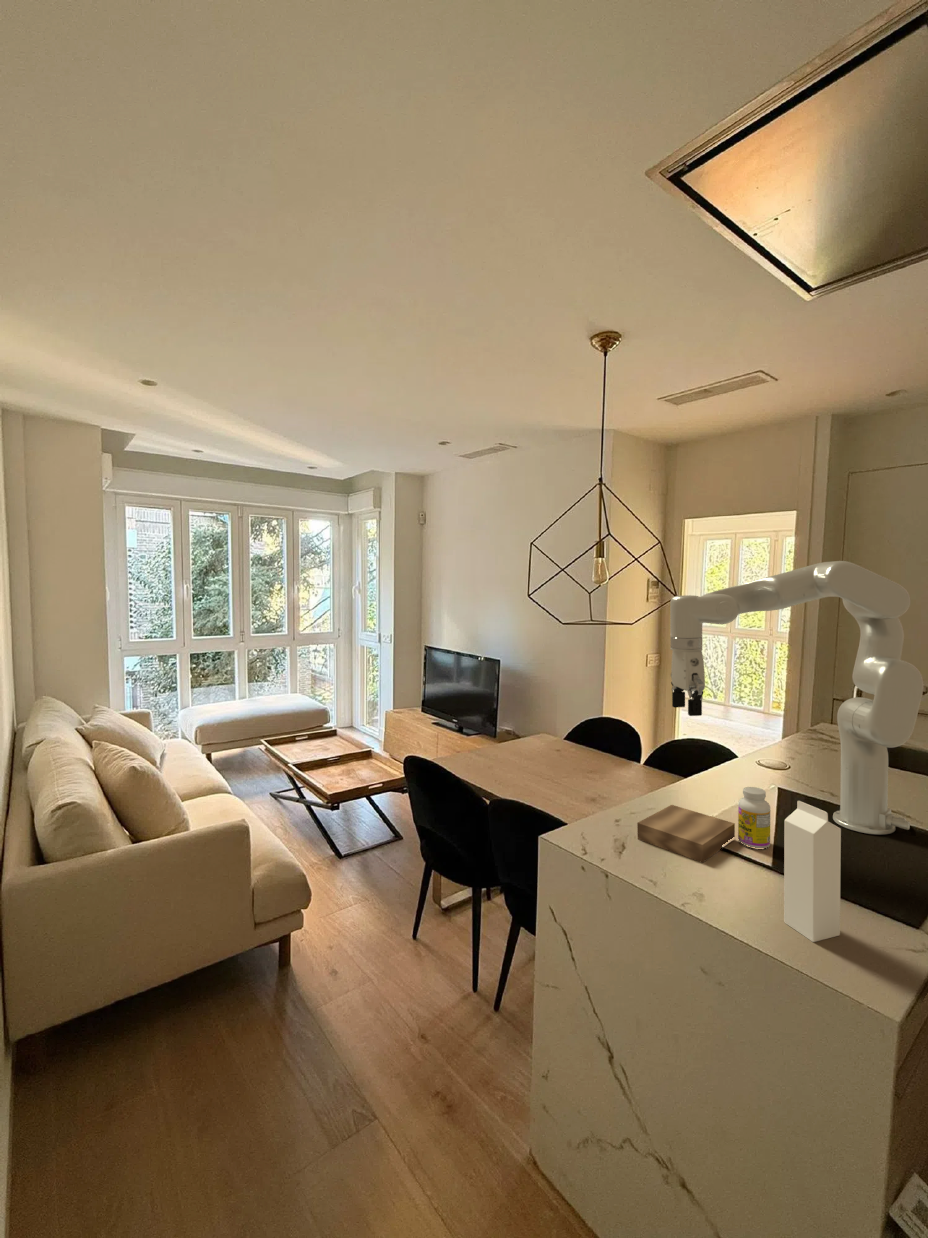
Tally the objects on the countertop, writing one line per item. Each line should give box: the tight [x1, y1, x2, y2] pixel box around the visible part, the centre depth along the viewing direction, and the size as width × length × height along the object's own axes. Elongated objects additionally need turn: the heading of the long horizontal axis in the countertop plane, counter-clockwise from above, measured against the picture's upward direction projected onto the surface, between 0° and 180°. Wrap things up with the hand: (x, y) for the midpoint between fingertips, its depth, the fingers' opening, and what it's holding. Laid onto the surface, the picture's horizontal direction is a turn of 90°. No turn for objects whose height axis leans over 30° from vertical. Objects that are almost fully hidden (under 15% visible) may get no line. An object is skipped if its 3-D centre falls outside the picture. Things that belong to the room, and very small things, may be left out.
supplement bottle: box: [737, 786, 771, 849], centre depth 129 cm, size 7×7×13 cm
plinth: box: [636, 804, 736, 863], centre depth 132 cm, size 16×16×4 cm
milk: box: [783, 800, 842, 943], centre depth 97 cm, size 6×6×22 cm
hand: (686, 711), depth 141 cm, fingers open, 9 cm apart
